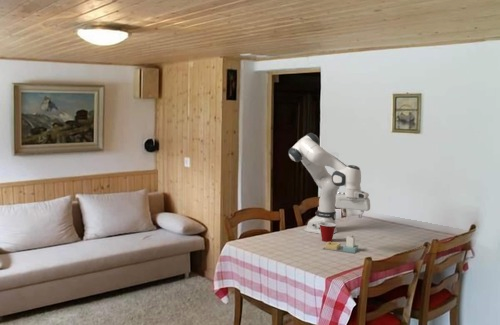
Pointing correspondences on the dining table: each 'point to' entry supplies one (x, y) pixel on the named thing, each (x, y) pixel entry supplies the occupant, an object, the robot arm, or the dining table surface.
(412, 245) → the dining table surface
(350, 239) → the plug
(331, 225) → the plastic cup
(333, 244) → the panel
